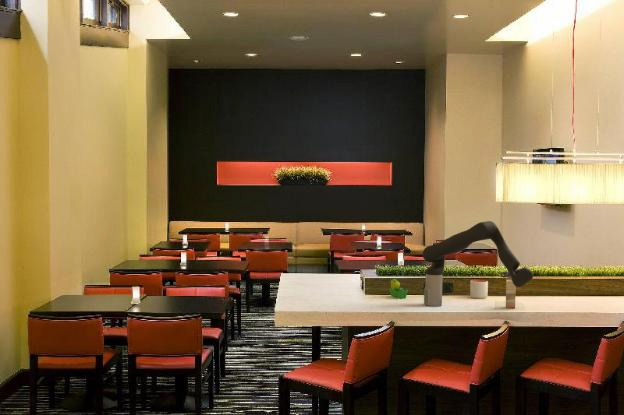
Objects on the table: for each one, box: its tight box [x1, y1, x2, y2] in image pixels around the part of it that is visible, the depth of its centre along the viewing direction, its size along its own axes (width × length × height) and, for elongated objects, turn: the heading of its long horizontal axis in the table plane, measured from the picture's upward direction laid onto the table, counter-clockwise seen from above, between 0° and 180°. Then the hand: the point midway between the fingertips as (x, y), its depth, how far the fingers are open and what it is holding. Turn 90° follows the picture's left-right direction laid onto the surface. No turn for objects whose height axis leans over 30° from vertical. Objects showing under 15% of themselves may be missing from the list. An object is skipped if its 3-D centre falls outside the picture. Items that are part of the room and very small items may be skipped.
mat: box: [494, 300, 526, 311], centre depth 454 cm, size 24×16×1 cm, turn 168°
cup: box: [469, 279, 489, 300], centre depth 482 cm, size 10×10×10 cm
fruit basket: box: [388, 278, 409, 300], centre depth 478 cm, size 11×9×11 cm
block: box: [505, 279, 517, 310], centre depth 446 cm, size 5×5×15 cm
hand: (513, 274), depth 436 cm, fingers open, 8 cm apart
